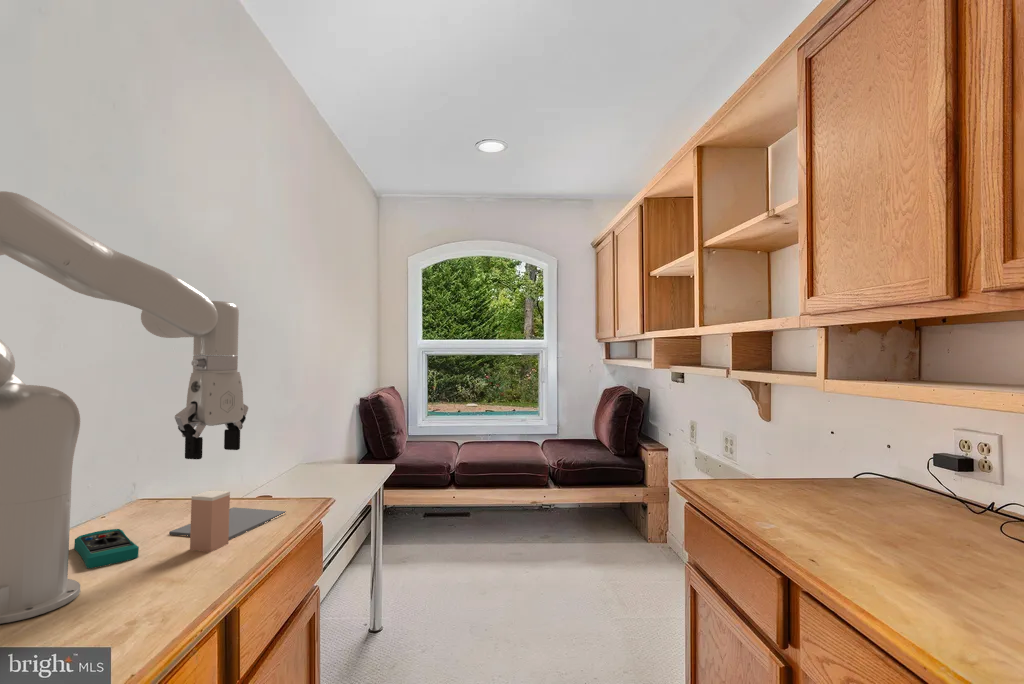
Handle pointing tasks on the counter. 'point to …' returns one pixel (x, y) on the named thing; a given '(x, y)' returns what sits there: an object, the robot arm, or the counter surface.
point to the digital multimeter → (105, 548)
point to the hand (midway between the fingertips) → (213, 454)
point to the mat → (239, 521)
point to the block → (209, 520)
